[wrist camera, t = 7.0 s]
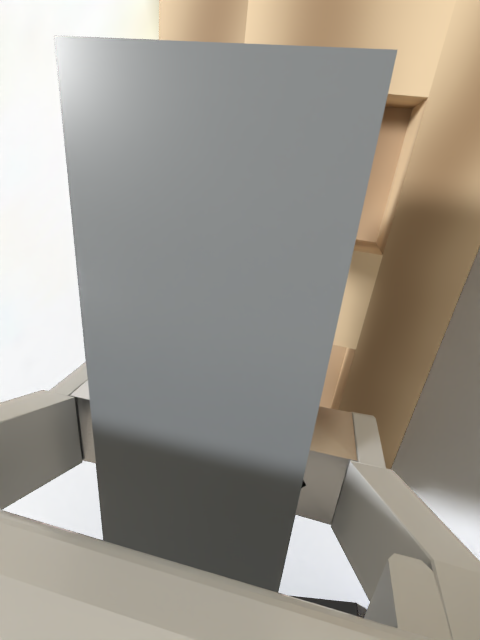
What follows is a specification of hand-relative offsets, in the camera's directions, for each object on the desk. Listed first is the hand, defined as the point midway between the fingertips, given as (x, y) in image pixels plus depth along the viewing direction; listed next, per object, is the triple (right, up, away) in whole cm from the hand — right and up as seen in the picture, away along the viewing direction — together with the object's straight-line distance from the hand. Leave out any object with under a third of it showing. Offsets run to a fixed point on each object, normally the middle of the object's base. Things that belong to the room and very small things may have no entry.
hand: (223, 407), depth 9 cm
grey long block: (+1, +1, +3) cm, 4 cm away
